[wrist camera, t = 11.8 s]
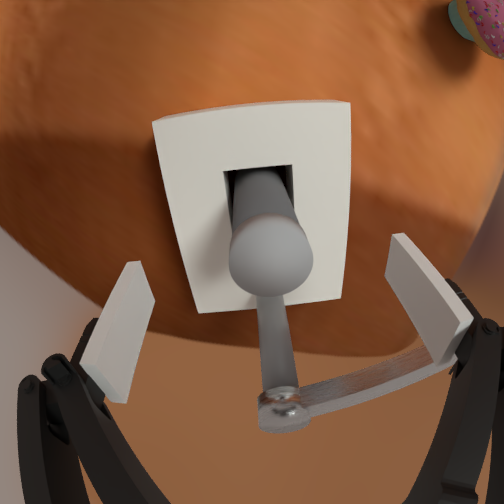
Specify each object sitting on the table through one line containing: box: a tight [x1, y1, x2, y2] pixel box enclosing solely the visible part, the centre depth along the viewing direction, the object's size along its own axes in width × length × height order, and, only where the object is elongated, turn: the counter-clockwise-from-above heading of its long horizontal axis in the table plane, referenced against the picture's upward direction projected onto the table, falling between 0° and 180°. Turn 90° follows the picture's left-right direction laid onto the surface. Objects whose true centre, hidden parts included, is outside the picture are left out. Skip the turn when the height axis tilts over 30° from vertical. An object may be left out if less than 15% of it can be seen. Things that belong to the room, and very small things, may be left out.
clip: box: [257, 345, 458, 433], centre depth 16 cm, size 15×3×4 cm, turn 110°
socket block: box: [152, 100, 351, 392], centre depth 19 cm, size 18×14×15 cm
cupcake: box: [448, 0, 504, 59], centre depth 9 cm, size 9×8×12 cm
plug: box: [229, 166, 313, 297], centre depth 19 cm, size 4×4×12 cm
